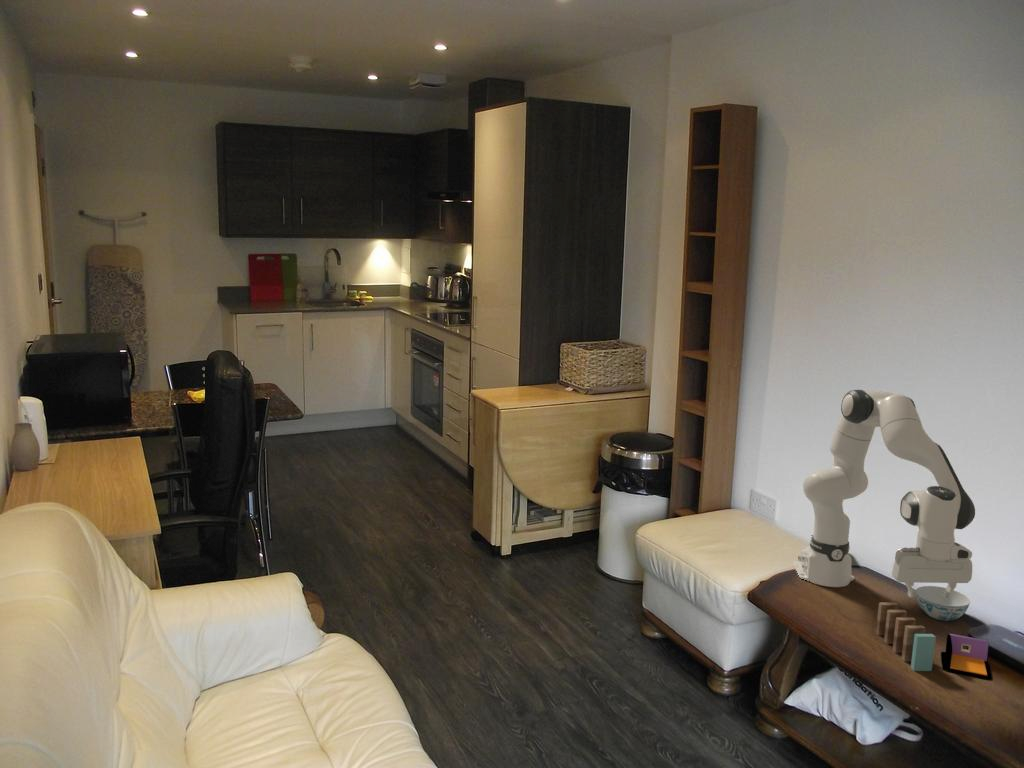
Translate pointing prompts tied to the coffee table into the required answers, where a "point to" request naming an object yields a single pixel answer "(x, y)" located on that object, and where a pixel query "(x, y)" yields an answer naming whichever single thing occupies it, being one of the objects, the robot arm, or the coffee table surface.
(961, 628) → the coffee table surface
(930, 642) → the domino
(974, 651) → the miniature room corner
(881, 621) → the domino
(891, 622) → the domino
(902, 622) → the domino
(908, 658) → the domino
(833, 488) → the robot arm
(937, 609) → the chinaware
